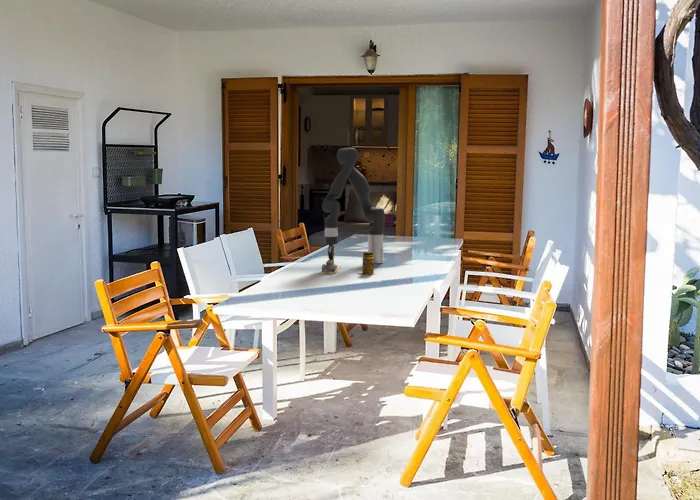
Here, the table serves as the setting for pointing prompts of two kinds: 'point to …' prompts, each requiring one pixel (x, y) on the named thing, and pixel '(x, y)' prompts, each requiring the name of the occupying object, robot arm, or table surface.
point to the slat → (330, 262)
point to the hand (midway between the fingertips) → (331, 265)
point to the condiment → (368, 264)
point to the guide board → (329, 269)
